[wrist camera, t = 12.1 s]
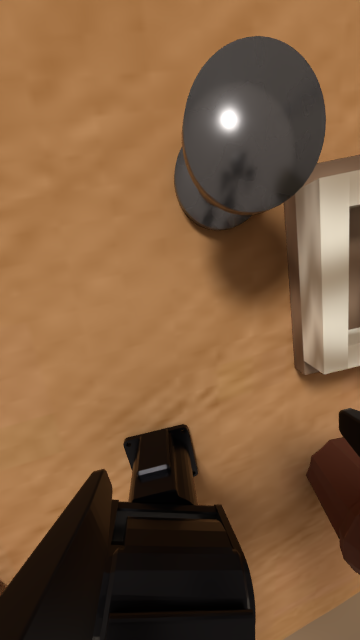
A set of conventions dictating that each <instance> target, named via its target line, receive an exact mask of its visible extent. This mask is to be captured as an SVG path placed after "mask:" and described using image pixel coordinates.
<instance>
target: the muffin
mask: <svg viewBox="0 0 360 640" xmlns="http://www.w3.org/2000/svg"><path fill="white" fill-rule="evenodd" d="M306 476H307V478H308V480H309V482H310V483H311V485H312V487H313V489H314V491H315V493H316V495H317V497H318V499H319V501H320V503H321V505H322V507H323V509H324V511H325V513H326V514H327V516H328V518H329V520H330V522H331V524H332V526H333V528H334V530H335V532H336V534H337V536H338V538H339V539H340V548H341V551H342V555H343V558H344V560H345V561H346V562H347V563H348V564H349V565H350V566H351V568H352V569H353V570H354V571H355V572H356V573H358V574H360V458H359V456H358V455H357V454H356V452H355V451H354V450H353V449H352V447H351V446H350V445H349V443H348V442H347V441H346V440H345V438H344V437H342V438H337V439H332V440H329V441H328V442H327V443H326V444H325V445H324V446H323V447H322V448H321V449H320V450H319V451H318V452H316V453H315V454H314V455H312V457H311V462H310V467H309V469H308V471H307V474H306Z"/></svg>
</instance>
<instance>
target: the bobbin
mask: <svg viewBox="0 0 360 640" xmlns="http://www.w3.org/2000/svg"><path fill="white" fill-rule="evenodd" d="M325 125H326V115H325V104H324V99H323V94H322V91H321V88H320V85H319V82H318V80H317V78H316V75H315V73H314V72H313V70H312V68H311V67H310V65H309V64H308V63H307V61H306V60H305V59H304V58H303V57H302V56H301V55H300V54H299V53H298V52H297V51H296V50H295V49H293V48H292V47H291V46H289V45H288V44H286V43H284V42H282V41H279V40H277V39H273V38H270V37H262V36H254V37H246V38H242V39H238V40H236V41H234V42H232V43H229V44H227V45H226V46H224V47H223V48H221V49H220V50H218V51H217V52H216V53H215V54H214V55H213V56H212V57H211V58H210V59H209V60H208V61H207V62H206V64H205V65H204V66H203V67H202V69H201V70H200V72H199V74H198V75H197V77H196V79H195V81H194V83H193V85H192V87H191V90H190V93H189V96H188V99H187V103H186V108H185V113H184V119H183V127H182V148H181V150H180V152H179V155H178V158H177V162H176V167H175V174H174V185H175V192H176V196H177V199H178V201H179V204H180V206H181V208H182V209H183V211H184V212H185V214H186V215H187V216H188V217H189V218H190V219H191V220H192V221H193V222H195V223H196V224H198V225H199V226H201V227H204V228H207V229H210V230H226V229H230V228H233V227H235V226H237V225H239V224H241V223H243V222H244V221H246V220H247V219H248V218H250V217H251V216H252V215H253V214H258V213H262V212H265V211H267V210H270V209H272V208H274V207H276V206H278V205H280V204H282V203H283V202H285V201H287V200H288V199H289V198H291V197H292V196H293V195H294V194H295V193H296V192H297V191H298V190H299V189H300V188H301V187H302V186H303V185H304V184H305V182H306V181H307V180H308V178H309V177H310V175H311V173H312V172H313V170H314V168H315V166H316V164H317V161H318V159H319V156H320V153H321V150H322V146H323V142H324V136H325Z"/></svg>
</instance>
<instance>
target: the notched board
mask: <svg viewBox="0 0 360 640" xmlns="http://www.w3.org/2000/svg"><path fill="white" fill-rule="evenodd" d="M284 210H285V226H286V241H287V256H288V271H289V286H290V302H291V317H292V332H293V347H294V362H295V368H296V369H297V370H299V371H300V372H301V373H303V374H304V375H307V374H311V373H316V372H321V373H323V374H328V373H332V372H336V371H340V370H345V369H349V368H353V367H357V366H360V155H356V156H351V157H346V158H341V159H336V160H331V161H326V162H321V163H317V164H316V166H315V168H314V170H313V172H312V173H311V175H310V177H309V178H308V180H307V181H306V182H305V184H304V185H303V186H302V187H301V188H300V189H299V190H298V191H297V192H296V193H295V194H294V195H293V196H292V197H291V198H289V199H288V200H287V201H285V202H284Z"/></svg>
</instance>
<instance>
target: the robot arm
mask: <svg viewBox="0 0 360 640" xmlns="http://www.w3.org/2000/svg"><path fill="white" fill-rule="evenodd" d="M182 429H184V430H183V431H181V430H182ZM339 430H340V432H341V434H342V436H343V437H344V438H345V440H346V441H347V442H348V443H349V445H350V446H351V447H352V449H353V450H354V451H355V452H356V454H357V455H358V456H359V458H360V411H357V410H355V409H351V408H348V409H344V410H341V411H340V412H339ZM128 443H130V444H128ZM124 448H125V451H126V454H127V457H128V460H129V463H130V466H131V469H132V478H131V486H130V494H129V501H128V502H119V500H112V485H111V482H110V479H109V477H108V474H107V472H106V470H105V469H101V470H97V471H94V472H93V473H92V474H91V475H90V476H89V478H88V479H87V480H86V482H85V483H84V484H83V486H82V487H81V488H80V490H79V491H78V493H77V494H76V495H75V497H74V498H73V499H72V501H71V502H70V503H69V505H68V506H67V507H66V509H65V510H64V511H63V513H62V514H61V515H60V517H59V518H58V519H57V521H56V522H55V523H54V525H53V526H52V527H51V529H50V530H49V531H48V533H47V534H46V535H45V537H44V538H43V539H42V541H41V542H40V543H39V545H38V546H37V547H36V549H35V550H34V551H33V553H32V554H31V555H30V557H29V558H28V559H27V561H26V562H25V563H24V565H23V566H22V567H21V569H20V570H19V571H18V573H17V574H16V575H15V577H14V578H13V580H12V581H11V582H10V584H9V585H8V586H7V588H6V589H5V590H4V592H3V593H2V594H1V596H0V640H255V600H254V592H253V585H252V580H251V576H250V571H249V568H248V564H247V561H246V559H245V556H244V553H243V551H242V549H241V547H240V545H239V542H238V540H237V538H236V536H235V534H234V531H233V529H232V527H231V525H230V523H229V520H228V518H227V516H226V514H225V512H224V509H223V507H222V505H214V506H205V505H197V499H196V492H195V486H194V480H193V477H194V476H196V475H197V474H198V470H197V466H196V461H195V457H194V453H193V449H192V445H191V440H190V436H189V432H188V428H187V426H186V425H184V424H182V425H178V426H174V427H170V428H165V429H161V430H157V431H153V432H149V433H145V434H141V435H136V436H132V437H128V438H126V439H125V440H124Z"/></svg>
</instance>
